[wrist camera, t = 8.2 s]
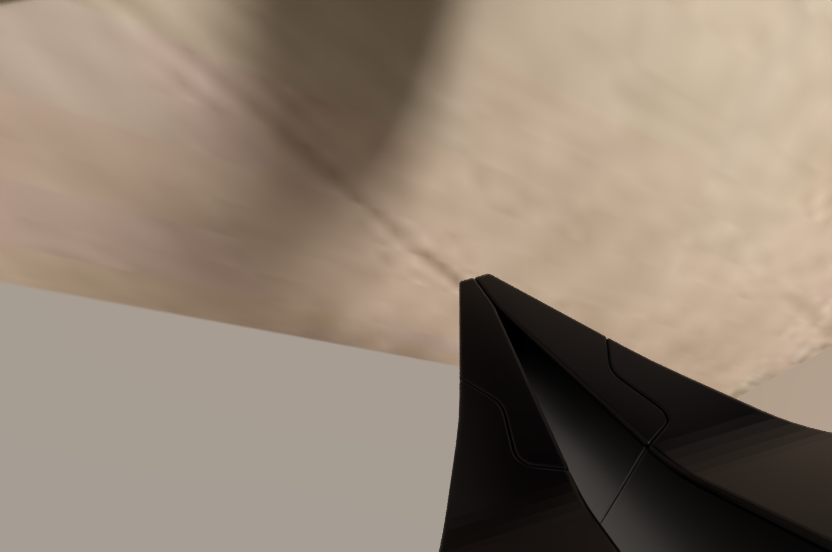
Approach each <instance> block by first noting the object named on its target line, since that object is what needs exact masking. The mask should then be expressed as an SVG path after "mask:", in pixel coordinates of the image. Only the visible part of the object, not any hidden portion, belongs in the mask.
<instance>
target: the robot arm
mask: <svg viewBox="0 0 832 552" xmlns="http://www.w3.org/2000/svg"><path fill="white" fill-rule="evenodd" d="M459 326H460V400H459V401H460V402H459V422H458V431H457V440H456V448H455V455H454V462H453V469H452V476H451V483H450V489H449V497H448V503H447V510H446V517H445V523H444V529H443V534H442V539H441V545H440V549H439V552H832V433H831V432H826V431H821V430H817V429H814V428H810V427H806V426H803V425H799V424H796V423H793V422H790V421H787V420H784V419H782V418H779V417H776V416H774V415H771V414H769V413H767V412H764V411H762V410H760V409H757V408H755V407H753V406H751V405H748V404H746V403H744V402H742V401H739V400H737V399H735V398H733V397H731V396H728V395H726V394H724V393H722V392H719V391H717V390H715V389H713V388H710V387H708V386H706V385H704V384H701V383H699V382H697V381H695V380H693V379H690V378H688V377H686V376H684V375H681V374H679V373H677V372H675V371H673V370H671V369H669V368H666V367H664V366H662V365H660V364H658V363H656V362H654V361H651V360H650V359H648V358H646V357H644V356H642V355H640V354H638V353H636V352H634V351H632V350H630V349H628V348H626V347H624V346H622V345H621V344H619V343H617V342H615V341H613V340H611V339H609V338H608V339H607V340H606V337H605V336H604V335H602V334H600V333H598V332H596V331H594V330H593V329H591V328H589V327H587V326H585V325H583V324H581V323H580V322H578V321H576V320H574V319H572V318H570V317H569V316H567V315H565V314H563V313H561V312H559V311H557V310H556V309H554V308H552V307H550V306H548V305H546V304H544V303H543V302H541V301H539V300H537V299H535V298H533V297H532V296H530V295H528V294H526V293H524V292H522V291H520V290H519V289H517V288H515V287H513V286H511V285H509V284H507V283H506V282H504V281H502V280H500V279H498V278H496V277H495V276H493V275H491V274H485V275H482V276H478V277H476V278H475V279H473V278H471V279H467V280H464V281H461V282H460V283H459Z"/></svg>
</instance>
